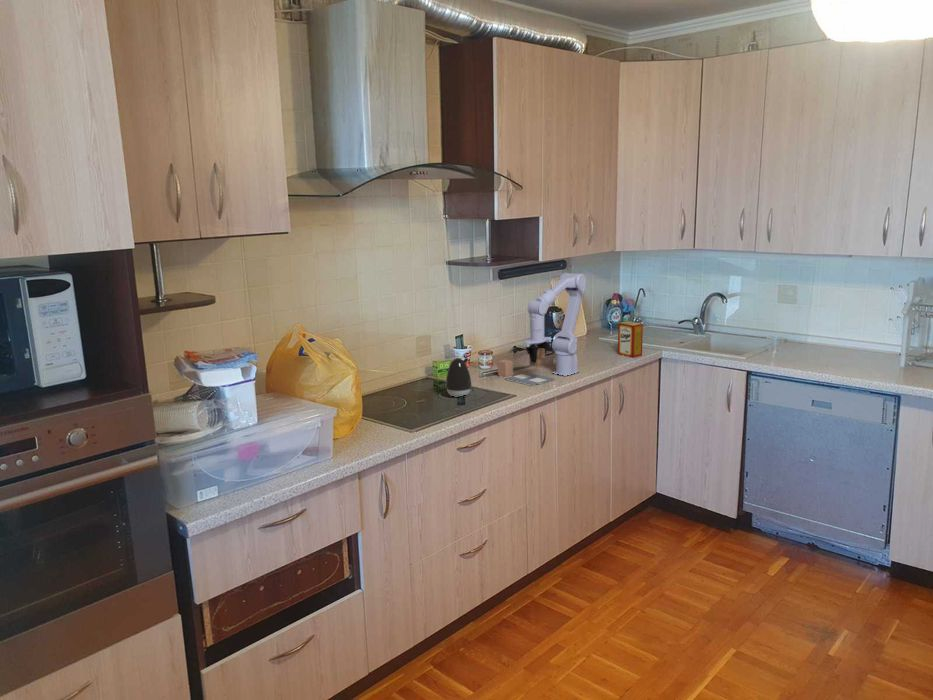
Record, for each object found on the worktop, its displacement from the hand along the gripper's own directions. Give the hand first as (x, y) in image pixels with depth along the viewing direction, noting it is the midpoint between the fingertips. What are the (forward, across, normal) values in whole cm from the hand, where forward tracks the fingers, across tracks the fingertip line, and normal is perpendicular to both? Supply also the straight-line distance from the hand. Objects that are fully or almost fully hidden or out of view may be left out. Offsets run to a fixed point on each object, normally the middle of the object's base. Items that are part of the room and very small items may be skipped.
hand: (537, 361), depth 296 cm
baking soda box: (+9, -67, 0) cm, 68 cm away
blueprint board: (+9, 0, -4) cm, 10 cm away
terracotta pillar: (+9, +3, -16) cm, 19 cm away
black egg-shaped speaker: (+9, +37, -8) cm, 39 cm away
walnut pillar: (+2, 0, 0) cm, 2 cm away
